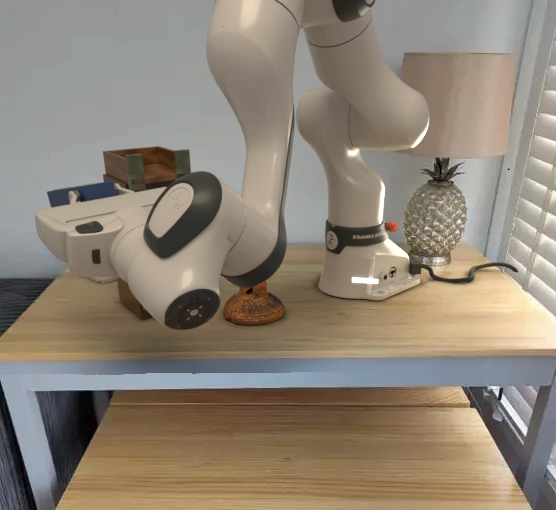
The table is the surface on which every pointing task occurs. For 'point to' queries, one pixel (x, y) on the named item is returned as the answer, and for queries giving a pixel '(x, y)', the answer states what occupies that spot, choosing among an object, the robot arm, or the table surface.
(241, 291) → the bell
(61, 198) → the case
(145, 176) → the drawer stand
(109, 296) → the table surface
